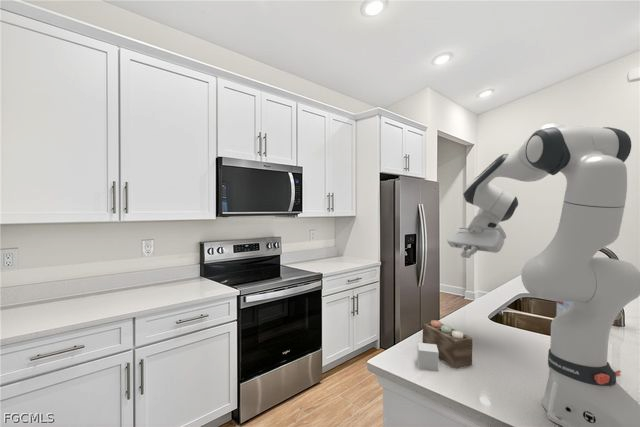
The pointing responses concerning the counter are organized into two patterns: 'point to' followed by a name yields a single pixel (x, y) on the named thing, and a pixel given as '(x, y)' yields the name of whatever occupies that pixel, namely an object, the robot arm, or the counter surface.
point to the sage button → (446, 329)
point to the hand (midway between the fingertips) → (464, 256)
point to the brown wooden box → (449, 346)
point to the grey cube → (428, 356)
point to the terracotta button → (435, 323)
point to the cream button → (457, 334)
